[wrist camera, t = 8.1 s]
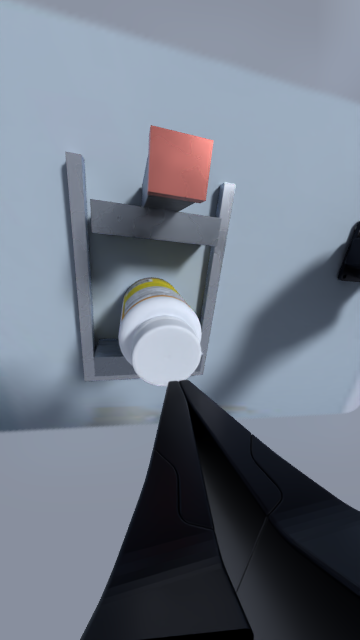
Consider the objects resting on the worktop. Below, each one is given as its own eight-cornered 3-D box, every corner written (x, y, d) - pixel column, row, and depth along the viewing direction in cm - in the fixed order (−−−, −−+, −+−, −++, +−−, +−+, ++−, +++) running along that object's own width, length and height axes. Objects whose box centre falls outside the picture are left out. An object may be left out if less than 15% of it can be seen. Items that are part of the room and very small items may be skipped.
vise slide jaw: (209, 194, 18) (280, 156, 9) (203, 244, 19) (258, 251, 11) (97, 175, 15) (55, 102, 7) (99, 233, 17) (67, 230, 8)
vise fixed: (230, 186, 18) (251, 176, 15) (200, 369, 25) (210, 389, 22) (69, 156, 15) (52, 134, 12) (86, 375, 22) (78, 398, 19)
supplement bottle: (165, 334, 22) (190, 405, 13) (115, 318, 20) (101, 388, 11) (187, 288, 21) (231, 330, 11) (134, 266, 19) (136, 295, 9)
